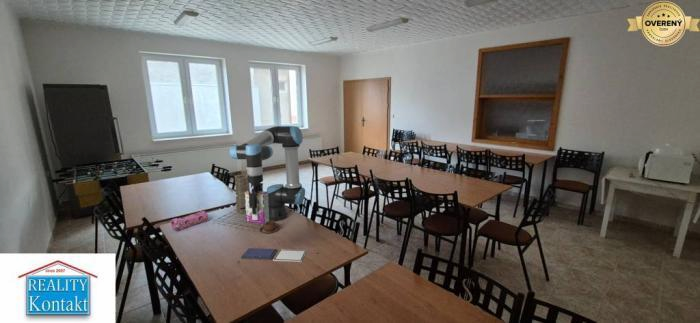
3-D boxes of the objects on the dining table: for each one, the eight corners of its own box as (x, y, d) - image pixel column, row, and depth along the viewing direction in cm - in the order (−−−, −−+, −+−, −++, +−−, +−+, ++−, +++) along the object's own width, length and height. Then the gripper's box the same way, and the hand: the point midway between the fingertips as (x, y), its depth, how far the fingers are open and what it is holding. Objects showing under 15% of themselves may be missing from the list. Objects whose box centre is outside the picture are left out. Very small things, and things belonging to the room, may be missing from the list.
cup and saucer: (278, 226, 195) (277, 217, 193) (280, 233, 184) (280, 224, 182) (259, 229, 190) (258, 220, 189) (260, 236, 179) (260, 227, 178)
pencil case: (177, 233, 183) (175, 220, 182) (170, 230, 189) (169, 217, 187) (210, 223, 201) (208, 211, 199) (203, 220, 206) (201, 208, 204)
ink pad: (249, 249, 162) (248, 247, 162) (277, 250, 161) (276, 248, 161) (241, 258, 152) (240, 256, 152) (270, 259, 151) (270, 257, 151)
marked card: (280, 249, 162) (280, 249, 162) (306, 250, 161) (306, 250, 160) (272, 260, 150) (272, 260, 150) (301, 261, 149) (301, 261, 149)
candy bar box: (245, 222, 152) (243, 192, 150) (251, 219, 157) (249, 189, 155) (264, 224, 150) (263, 193, 147) (269, 221, 154) (268, 191, 152)
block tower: (241, 216, 214) (239, 177, 208) (236, 213, 219) (233, 175, 214) (251, 213, 219) (249, 175, 214) (246, 210, 225) (243, 173, 220)
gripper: (255, 170, 158) (257, 211, 162) (239, 178, 140) (243, 224, 144) (268, 170, 158) (270, 211, 162) (254, 178, 140) (257, 224, 144)
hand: (257, 217), depth 153 cm, fingers closed on candy bar box, 5 cm apart
